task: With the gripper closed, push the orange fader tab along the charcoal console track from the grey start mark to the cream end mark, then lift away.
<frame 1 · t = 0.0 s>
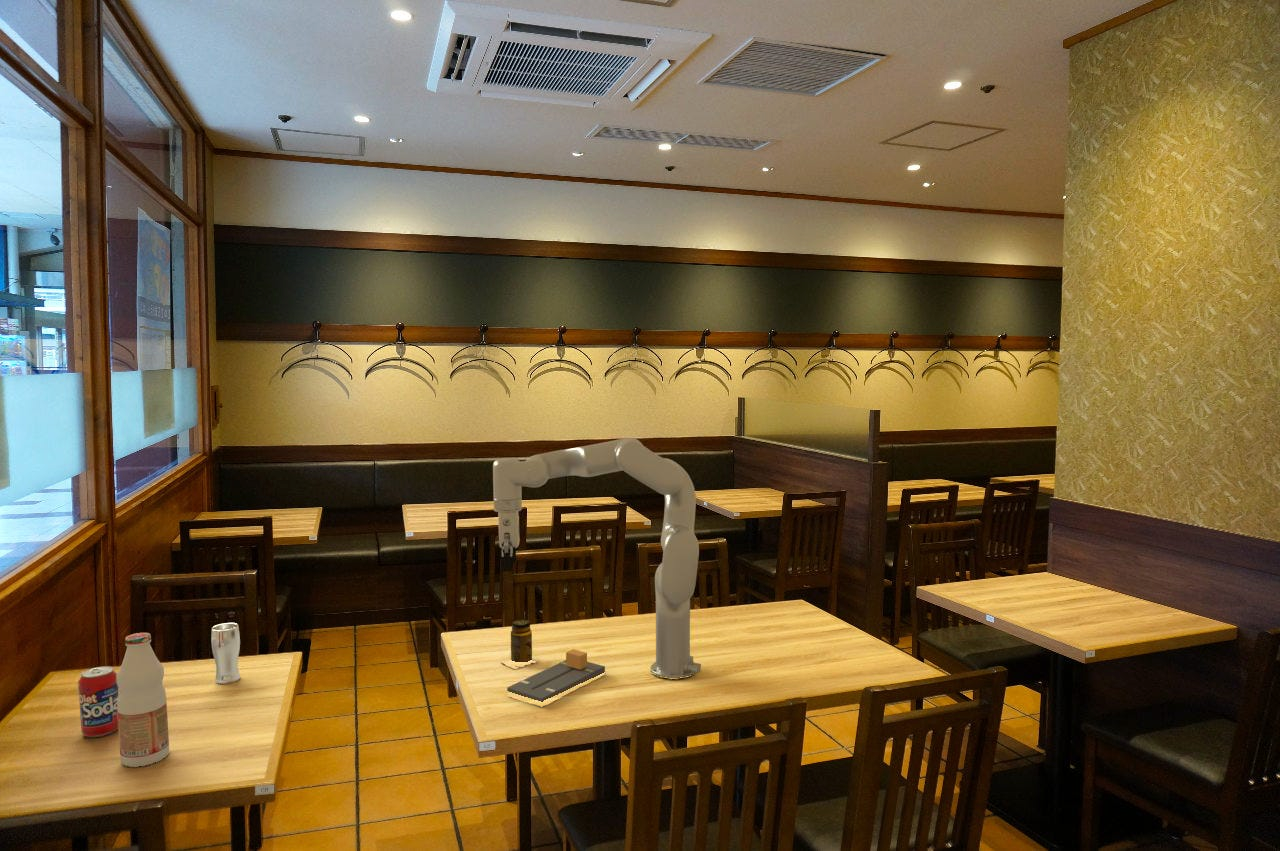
hand: (508, 566, 230), 31 cm above the table, tool pointing down, fingers open, 9 cm apart
fader tab: (576, 659, 233), point 5 cm above the table, slide at 0.0 cm
soda can: (101, 732, 201), on the table
fruit juice: (145, 758, 188), on the table
beer glass: (227, 680, 232), on the table
console: (557, 685, 227), on the table
condiment: (518, 663, 243), on the table
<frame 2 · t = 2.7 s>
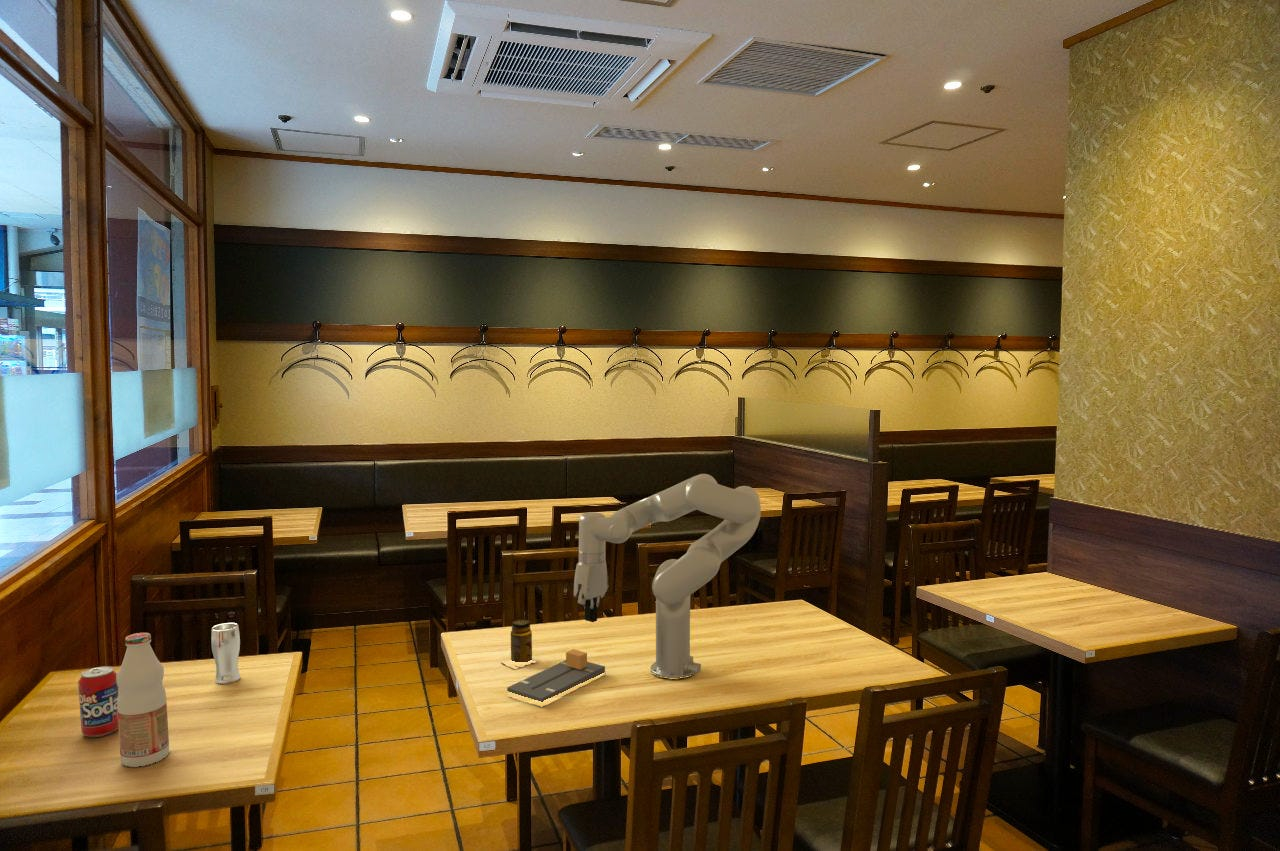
hand: (591, 620, 238), 14 cm above the table, tool pointing down, fingers closed
nothing on the table moved.
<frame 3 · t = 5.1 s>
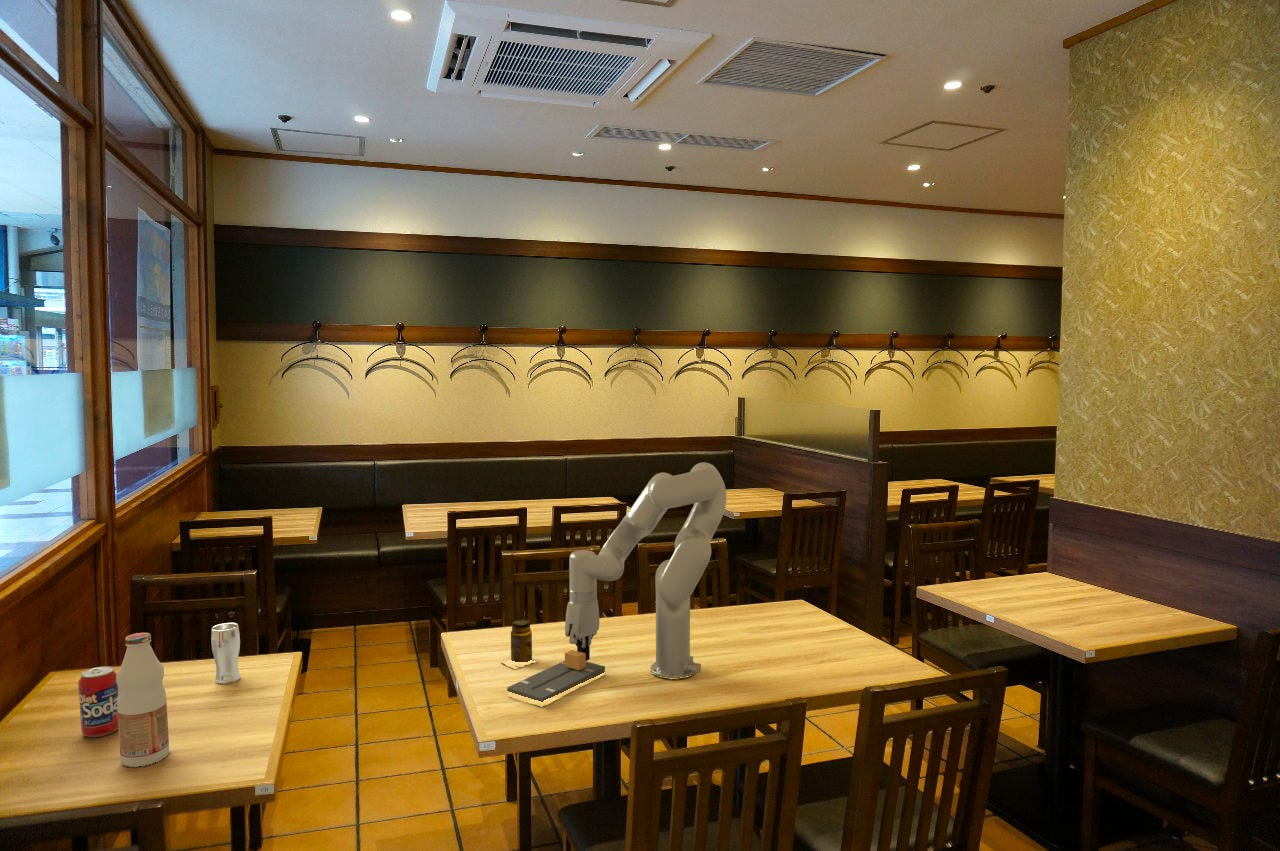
hand: (583, 659, 235), 4 cm above the table, tool pointing down, fingers closed
fader tab: (575, 659, 232), point 5 cm above the table, slide at 0.6 cm, touching gripper
everything else where it was.
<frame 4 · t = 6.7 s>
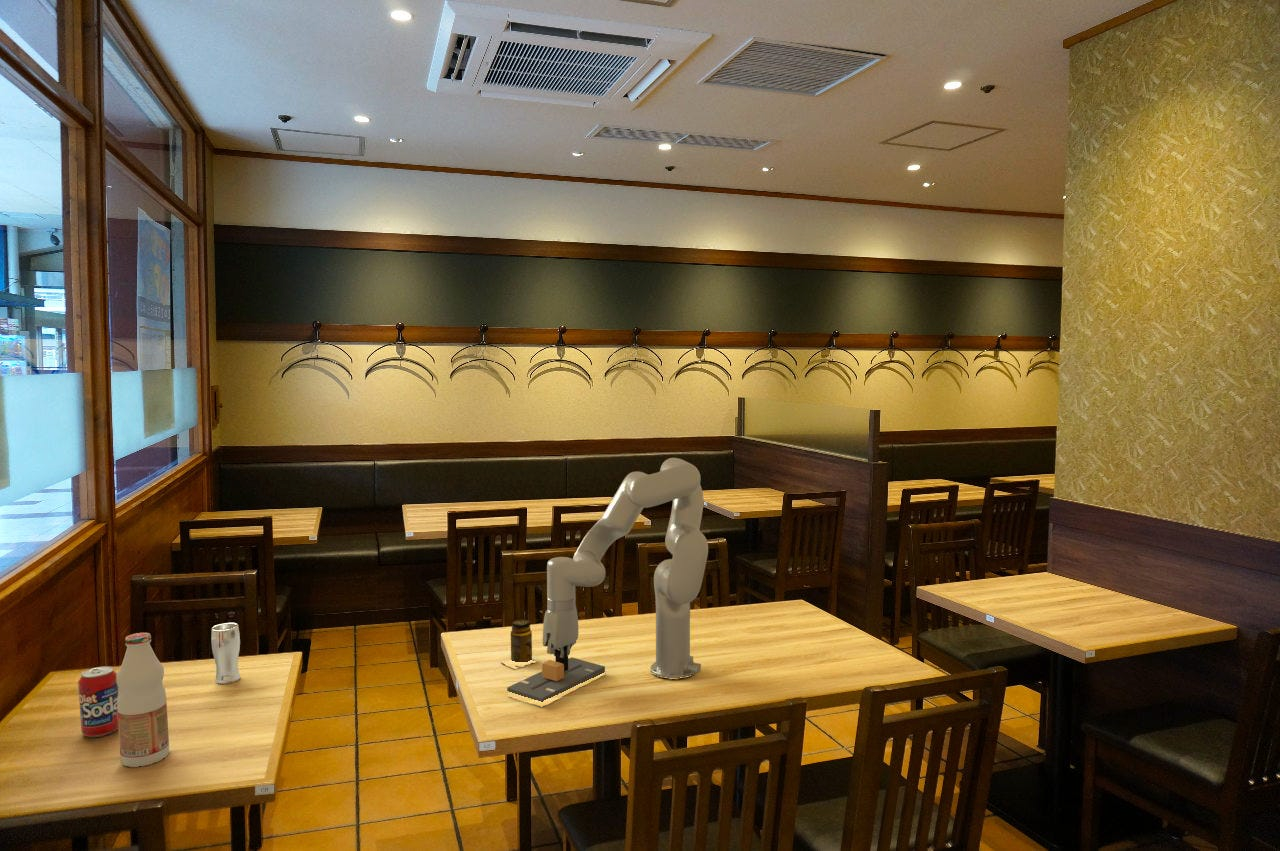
hand: (561, 669, 228), 4 cm above the table, tool pointing down, fingers closed
fader tab: (553, 670, 225), point 5 cm above the table, slide at 9.8 cm, touching gripper
everything else where it was.
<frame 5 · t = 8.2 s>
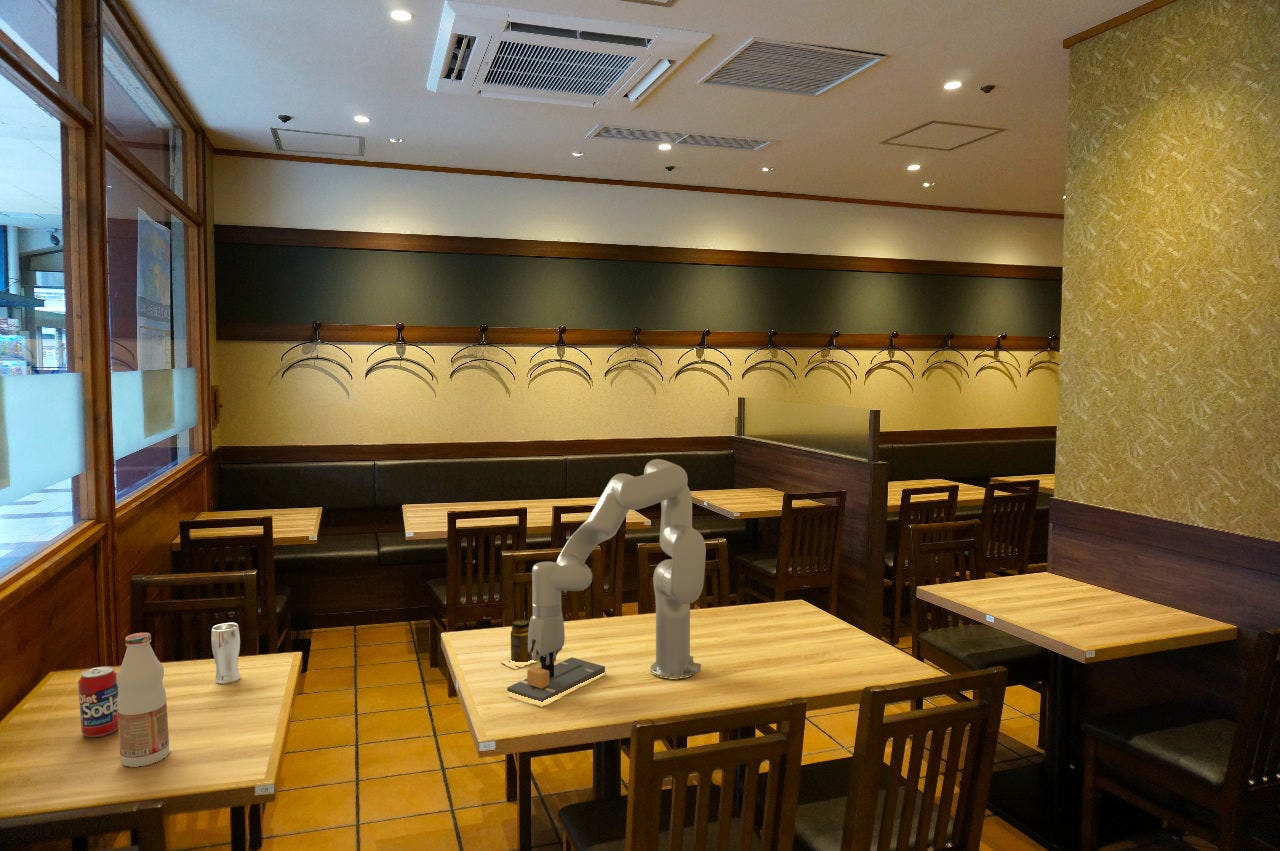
hand: (547, 676, 223), 4 cm above the table, tool pointing down, fingers closed
fader tab: (538, 677, 220), point 5 cm above the table, slide at 15.6 cm, touching gripper
everything else where it was.
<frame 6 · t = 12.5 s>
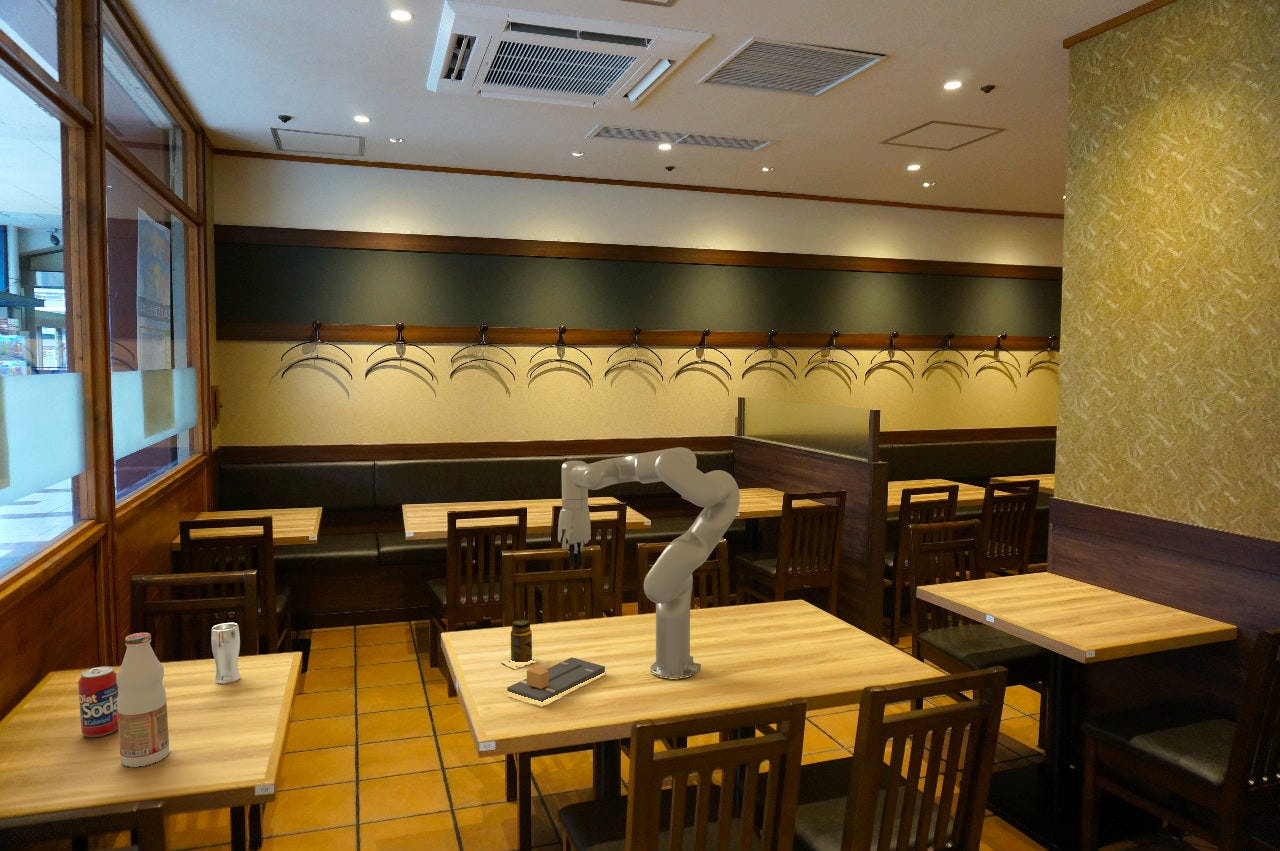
hand: (575, 565, 246), 27 cm above the table, tool pointing down, fingers closed
fader tab: (537, 677, 220), point 5 cm above the table, slide at 15.8 cm
everything else where it was.
at the end: fader tab slide at 15.8 cm; console moved 0.0 cm from its start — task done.
